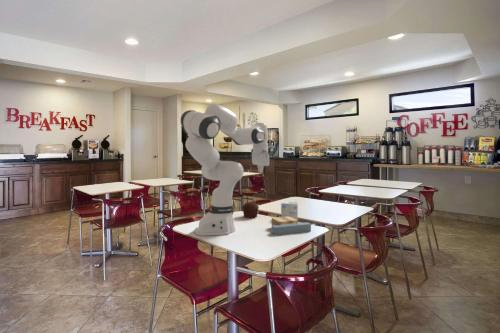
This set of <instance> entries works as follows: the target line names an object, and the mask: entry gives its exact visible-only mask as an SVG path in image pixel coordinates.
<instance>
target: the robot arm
mask: <svg viewBox="0 0 500 333" xmlns="http://www.w3.org/2000/svg"><path fill="white" fill-rule="evenodd" d="M238 119H239V118H238V116H237V115H236V114H235V113H234V112H233V111H232V110H230V109H229V108H227V107H225V106H223V105H221V104H217V103H211V104H210V105H208V106H206V109H205V111H204V113H203V112H200V111H197V110H192V109H189V110H186V111H184V112H183V113H182V114H181V117H180V125H181V128H182V129H183V134H185V135H187V136H188V137H187V139H186V141H185V148H186V150H187V151H188V153H189V154H190V156H191V157H192V158H193V159H194V160H195V161H196V162H198V164H199V165H200V166H201V168H200V169H201V170H200V171H201V174H202V175H201V176H203V178H205V179H206V180H207V179H208V180H210V181H219V184H218V187H216V188H215V189H213V191H212V194H211V195H212V205H209V204H208V205H207V206H206V209H207V210H208V212H207V213H206V214H205V215H203V217H201V218H200V219H199V222H198V227H195V228H194V234H196V235H198V236H200V237H202V236H203V237H204V236H223V235H224V236H225V235H230V234H231V233H234V232H235V231H236V228H235V224H234V222H235V221H234V216H233V215H234V205H233V192H234V189H235V187H236V184H237V183H238V181H240V180H242V178H243V175H244V166H243V165H242V163H241V162H237V161H232V160H220V159H221V158H220V157H221V156H220V153H219V151H218V150H217V149H216V147H214V146H213V144H212V143H211V142H210V141H209V140H213V139H214V138H216V137H217V136H218V134H219V132H220V131H221V133H223V134H224V135H226V136H227V137H229V138H230V139H231V140H232V142H233V143H234V144H235V145H237V146H243V145H245V146H246V145H248V146H249V145H252V148H251V149H250V153H251V163H252V165H254V166H256V167H257V170H258V173H260V174H263V173H264V168H265V167H269V166H270V165H271V164H270V154H269V150H268V149H269V144H268V138H269V134H268V133H269V132H268V130H269V129H268V126H267V124H266V123H264V122H255V123H254V125H253V126H251V127H245V128H239V127H238V128H237V126H238V123H239V121H238Z"/></svg>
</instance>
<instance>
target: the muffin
mask: <svg viewBox="0 0 500 333" xmlns="http://www.w3.org/2000/svg"><path fill="white" fill-rule="evenodd" d="M241 208H242V213H243V217H244V218H245V219H256V218H255V217H257V218H258V213H259V212H258V211H259V208H260V207H259V206H258V204H257V203H256V202H254V201H248V202H245V203H244V204H243V205H242V207H241Z"/></svg>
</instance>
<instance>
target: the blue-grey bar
mask: <svg viewBox="0 0 500 333" xmlns="http://www.w3.org/2000/svg"><path fill="white" fill-rule="evenodd" d="M311 229H312V224H311V223H310V222H307V221H306V222H298V223H292V224H281V225H274V226H272V225H271V234H273V235H274V236H277V235H278V236H279V235H289V234H296V233H305V232H312V230H311Z"/></svg>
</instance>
